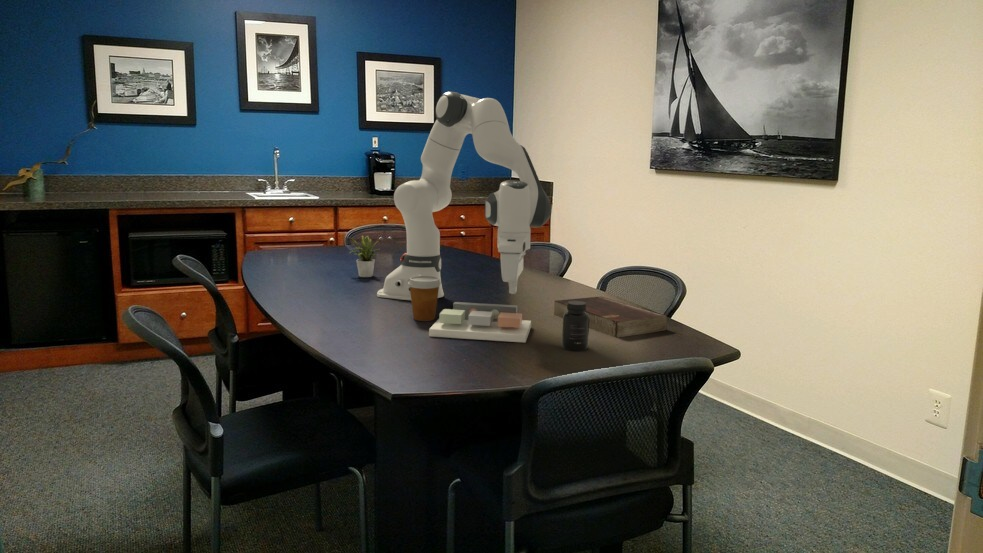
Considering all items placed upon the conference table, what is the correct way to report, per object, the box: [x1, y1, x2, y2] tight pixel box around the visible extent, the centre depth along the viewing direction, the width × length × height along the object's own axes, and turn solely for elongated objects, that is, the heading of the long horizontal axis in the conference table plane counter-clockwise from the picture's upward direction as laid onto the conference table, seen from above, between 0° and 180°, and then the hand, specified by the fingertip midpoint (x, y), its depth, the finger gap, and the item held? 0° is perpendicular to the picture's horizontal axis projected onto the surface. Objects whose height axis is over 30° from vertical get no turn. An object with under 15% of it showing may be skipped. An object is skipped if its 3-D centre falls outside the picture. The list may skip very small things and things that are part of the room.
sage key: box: [438, 308, 465, 324], centre depth 196 cm, size 6×6×2 cm
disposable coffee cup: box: [408, 276, 442, 322], centre depth 209 cm, size 10×10×12 cm
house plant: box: [346, 235, 381, 278], centre depth 273 cm, size 14×14×16 cm
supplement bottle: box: [561, 301, 590, 352], centre depth 182 cm, size 7×7×12 cm
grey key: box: [468, 311, 494, 326], centre depth 194 cm, size 6×6×2 cm
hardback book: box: [553, 296, 668, 339], centre depth 211 cm, size 29×19×5 cm, turn 31°
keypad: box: [428, 301, 532, 343], centre depth 196 cm, size 26×16×6 cm, turn 82°
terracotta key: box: [498, 312, 523, 328], centre depth 193 cm, size 6×6×2 cm
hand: (512, 292), depth 192 cm, fingers closed
